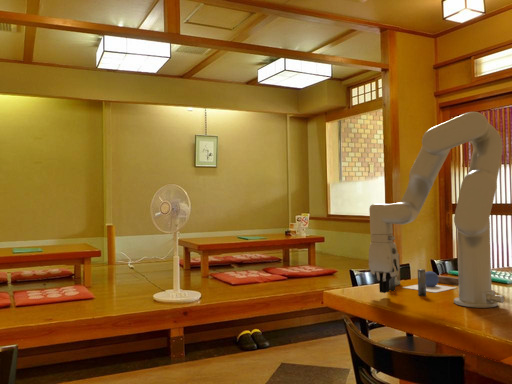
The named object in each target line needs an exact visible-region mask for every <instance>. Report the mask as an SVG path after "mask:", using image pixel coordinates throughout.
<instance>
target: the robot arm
mask: <svg viewBox="0 0 512 384" xmlns="http://www.w3.org/2000/svg"><path fill="white" fill-rule="evenodd" d="M421 138H422V139H421V145H422V146H421V147H420V150H419V152H418V154H417V156H416V158H415V160H414V162H413V164H412V166H411V168H410V170H409V174H408V175H409V176H408V179H409V180H408V184H407V187H406V189H405V192H404V194H403V196H402V198H401V199H400V201H399V202H396V203H395V202H394V203H372V204H371V205H369V211H368V212H369V228H370V229H369V230H370V243H369V248H368V269H369V270H370V274H371V275H374V276H375V277H376V280H377V281H378V289H379V293H381V294H382V293H383V294H385V293H389V292H390V291H389V280H391V278H392V277H393V276H397V271H399V258H398V254H399V253H398V248H397V244H396V242H394V240H396V236H394V231H393V225H407V224H410V223H413V222H414V221H415V220H416V219H417V218H418V216H419V214H420V212H421V210H422V208H423V207H424V205H425V203H426V200H427V198H428V196H429V193H430V192H431V189H432V187H433V186H434V182H435V181H436V180H437V177H438V175H439V172H440V170H441V169H442V167H443V164H444V163H445V162H446V159H447V157H448V155H449V153H450V151H451V149H453V148H455V147H458V146H460V145H463V144H466V143H470V144H471V145H472V153H471V158H470V163H469V169H468V172H467V174H466V175H465V176H464V177H463V179H462V182H461V186H460V189H459V193H458V198H457V202H456V203H457V204H456V206H455V207H456V208H455V212H454V215H453V216H454V217H453V221H454V226H455V228H456V231H457V232H456V233H457V234H456V235H457V237H456V239H457V240H456V241H457V242H456V243H457V246H456V247H457V248H456V249H457V269H458V270H457V273H458V276H457V278H458V280H459V285H458V296H457V297H455V298H453V303H454V304H456V305H457V306H462V307H467V308H477V309H479V308H481V309H482V308H483V309H488V308H496V307H498V305H499V304H498V303H500V304H503V303H504V302H505V297H504V295H500V294H498V295H497V294H496V290H494V289H492V288H493V287H492V265H491V264H492V263H491V258H492V257H491V254H492V253H491V233H490V232H491V223H490V222H491V221H490V216H491V211H492V208H493V203H494V199H495V196H496V191H497V188H498V185H497V184H498V183H497V182H498V176H499V172H500V167H501V162H502V156H503V140H502V137H501V135H500V133H499V132H498V130H497V129H496V128H495V126H493V125H492V124H491V123H489V121H488V119H487V117H486V116H485V115H484V114H483V113H481V112H478V111H469V112H465V113H462V114H460V115H459V116H455V117H454V118H451V119H449V120H447V121H445V122H442V123H440V124H438V125H435V126H433V127H431V128H429V129H428V130H427V131H425V132H424V134H423V136H422V137H421Z"/></svg>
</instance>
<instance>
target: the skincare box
mask: <svg viewBox="0 0 512 384" xmlns="http://www.w3.org/2000/svg"><path fill="white" fill-rule="evenodd" d="M400 257H401V256H400V253H398V258H399V271H397V276H395V287H396V286H398V285H400V284H401V267H400V266H401V263H400V259H401V258H400Z"/></svg>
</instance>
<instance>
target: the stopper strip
mask: <svg viewBox="0 0 512 384" xmlns="http://www.w3.org/2000/svg"><path fill="white" fill-rule="evenodd" d="M437 276H438V278H439V281H438V283H439V284H447V285H455V286H459V280H458V277H453V276H445V275H438V274H437ZM438 283H437V284H438Z"/></svg>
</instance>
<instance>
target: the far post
mask: <svg viewBox="0 0 512 384" xmlns="http://www.w3.org/2000/svg"><path fill="white" fill-rule="evenodd" d="M389 290H391V291H390V292H395V291H396V286H395V276H393V277H392V278H391V280H389ZM394 290H395V291H394Z"/></svg>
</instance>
